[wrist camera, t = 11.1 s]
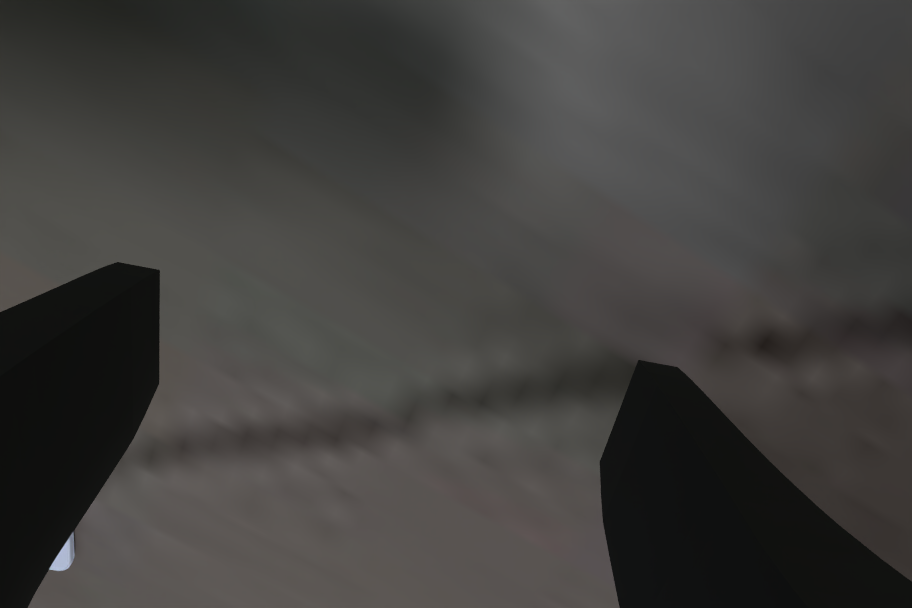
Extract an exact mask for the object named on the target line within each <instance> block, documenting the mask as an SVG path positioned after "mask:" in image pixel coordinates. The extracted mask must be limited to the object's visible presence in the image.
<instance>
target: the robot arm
mask: <svg viewBox="0 0 912 608" xmlns="http://www.w3.org/2000/svg"><path fill="white" fill-rule="evenodd" d="M159 302H160V270H156V269H151V268H146V267H141V266H135V265H130V264H125V263H119V262H117V263H114V264H111V265H108V266H105V267H103V268H100V269H98V270H95V271H93V272H91V273H88V274H86V275H84V276H81V277H79V278H77V279H75V280H72V281H70V282H68V283H66V284H63V285H61V286H59V287H57V288H55V289H52V290H50V291H48V292H46V293H43V294H41V295H39V296H36V297H34V298H32V299H30V300H27V301H25V302H23V303H20V304H18V305H16V306H14V307H11V308H9V309H7V310H4V311H2V312H0V608H28V606H29V604H30V602H31V600H32V598H33V596H34V594H35V592H36V590H37V589H38V587H39V585H40V584H41V582H42V580H43V578H44V577H45V575H46V573H47V572H48V570H49V569H50V570H56V571H62V570H66V569H68V568H69V567H70V565H71V564H72V562H73V560H74V557H75V554H74V530H75V528H76V527H77V525H78V524H79V522H80V520H81V519H82V517H83V516H84V514H85V513H86V511H87V510H88V508H89V507H90V505H91V504H92V502H93V501H94V499H95V498H96V496H97V495H98V493H99V492H100V490H101V488H102V487H103V485H104V484H105V482H106V481H107V479H108V478H109V476H110V475H111V473H112V472H113V470H114V468H115V467H116V465H117V464H118V462H119V461H120V459H121V458H122V456H123V454H124V453H125V451H126V450H127V448H128V447H129V445H130V443H131V442H132V440H133V438H134V436H135V434H136V432H137V430H138V428H139V426H140V424H141V422H142V420H143V418H144V416H145V414H146V411H147V409H148V407H149V405H150V402H151V400H152V398H153V396H154V393H155V391H156V389H157V387H158V385H159ZM600 477H601V499H602V514H603V523H604V529H605V535H606V540H607V545H608V551H609V556H610V561H611V566H612V571H613V576H614V581H615V586H616V591H617V596H618V601H619V606H620V608H912V581H910V580H909V579H907V578H906V577H905V576H903V575H902V574H901V573H899V572H898V571H897V570H895V569H894V568H892V567H891V566H890V565H888V564H887V563H886V562H884V561H883V560H882V559H881V558H879V557H878V556H877V555H876V554H874V553H873V552H872V551H871V550H869V549H868V548H867V547H866V546H864V545H863V544H862V543H861V542H859V541H858V540H857V539H856V538H854V537H853V536H852V535H851V534H849V533H848V532H847V531H846V530H844V529H843V528H842V527H841V526H839V525H838V524H837V523H836V522H835V521H834V520H832V519H831V518H830V517H829V516H828V515H827V514H825V513H824V512H823V511H822V510H821V509H820V508H819V507H818V506H816V505H815V504H814V503H813V502H812V501H811V500H810V499H809V498H808V497H807V496H806V495H805V494H803V493H802V492H801V491H800V490H799V489H798V488H797V487H796V486H795V485H794V484H793V483H792V482H791V481H789V480H788V479H787V478H786V477H785V476H784V475H783V474H782V473H781V472H780V471H779V470H778V469H777V468H776V467H775V466H774V465H773V464H772V463H771V462H770V461H769V460H768V459H767V458H766V457H765V456H764V455H763V454H762V453H761V452H760V451H759V450H758V449H757V448H756V447H755V446H754V445H753V444H752V443H751V442H750V441H749V440H748V439H747V438H746V437H745V436H744V435H743V434H742V433H741V432H740V430H739V429H738V428H737V427H736V426H735V425H734V424H733V423H732V422H731V421H730V420H729V419H728V418H727V417H726V416H725V415H724V414H723V413H722V411H721V410H720V409H719V408H718V407H717V406H716V405H715V404H714V403H713V402H712V401H711V400H710V399H709V398H708V397H707V396H706V395H705V394H704V392H703V391H702V390H701V389H700V388H699V387H698V386H697V385H696V384H695V383H694V382H693V381H692V380H691V379H690V378H689V377H688V376H687V375H686V374H685V373H683V372H682V371H681V370H680V369H679V368H678V367H673V366H668V365H663V364H657V363H652V362H647V361H641V360H638V363H637V366H636V368H635V371H634V373H633V376H632V379H631V381H630V384H629V387H628V389H627V392H626V394H625V397H624V400H623V402H622V405H621V408H620V410H619V413H618V416H617V418H616V421H615V423H614V426H613V429H612V431H611V434H610V437H609V439H608V442H607V444H606V447H605V450H604V452H603V455H602V458H601V460H600Z"/></svg>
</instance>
